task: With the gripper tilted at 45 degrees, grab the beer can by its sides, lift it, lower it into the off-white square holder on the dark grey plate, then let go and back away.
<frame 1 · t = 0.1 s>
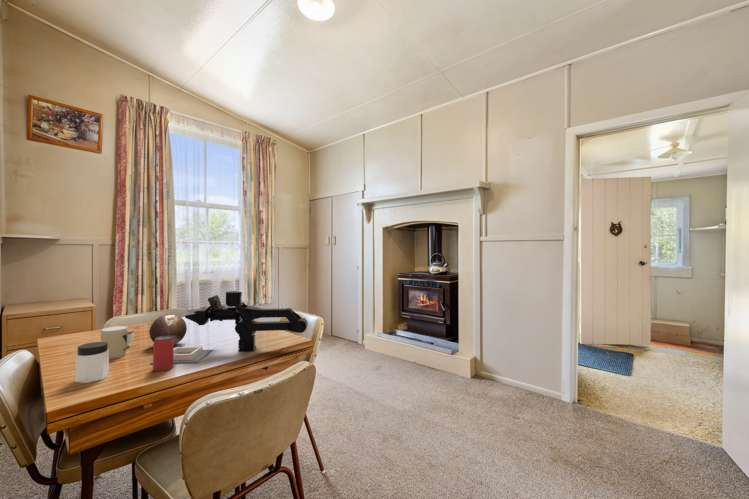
hand: (190, 314, 146), 17 cm above the table, tool horizontal, fingers open, 9 cm apart
jar: (92, 379, 114), on the table
beer can: (163, 369, 124), on the table
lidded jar: (119, 347, 150), on the table
holder plate: (183, 357, 137), on the table
coffee cup: (114, 356, 137), on the table
brown ball: (168, 346, 153), on the table
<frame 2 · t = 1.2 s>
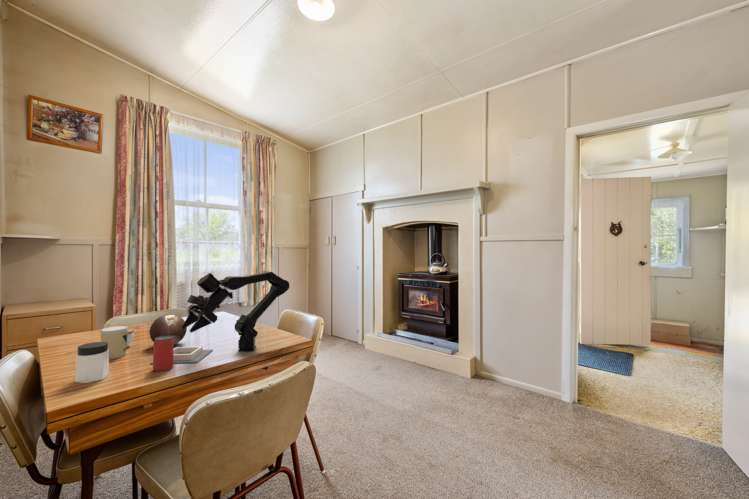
hand: (186, 329, 130), 14 cm above the table, tool tilted 45°, fingers open, 9 cm apart
nothing on the table moved.
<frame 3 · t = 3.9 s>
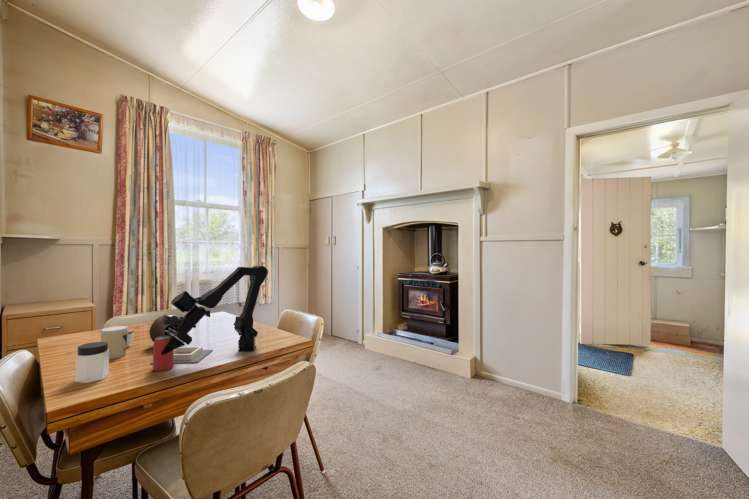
hand: (159, 352, 123), 7 cm above the table, tool tilted 45°, fingers closed on beer can, 7 cm apart
beer can: (163, 369, 124), on the table, touching gripper
everything else where it was.
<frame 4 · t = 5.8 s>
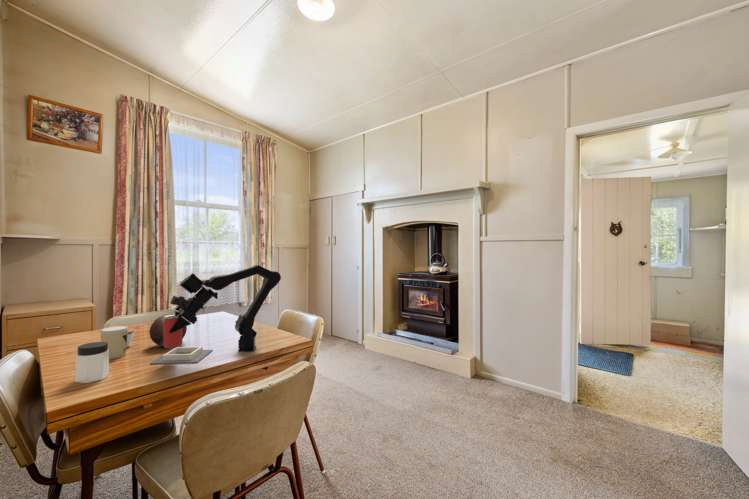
hand: (169, 330, 129), 13 cm above the table, tool tilted 45°, fingers closed on beer can, 7 cm apart
beer can: (173, 346, 130), point 6 cm above the table, touching gripper
everything else where it was.
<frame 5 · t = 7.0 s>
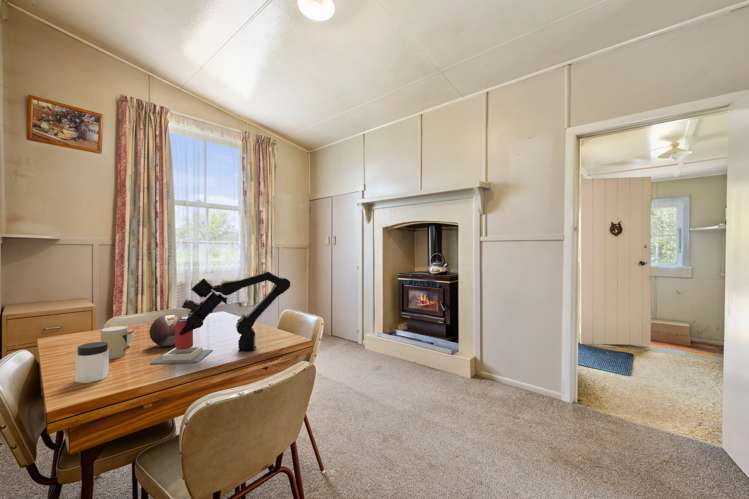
hand: (180, 332, 136), 11 cm above the table, tool tilted 45°, fingers closed on beer can, 7 cm apart
beer can: (184, 348, 137), point 4 cm above the table, touching gripper
everything else where it was.
when the fingers open (8 cm above the table, at t = 8.1 s): beer can stays where it is, resting on holder plate.
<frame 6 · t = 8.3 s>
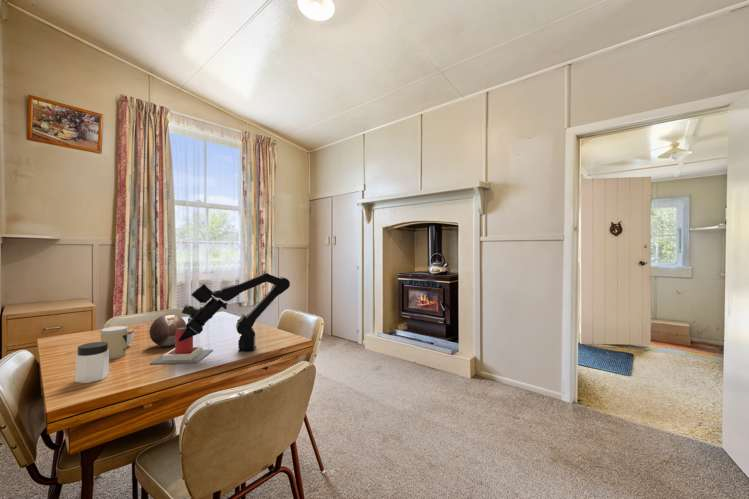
hand: (179, 338, 136), 8 cm above the table, tool tilted 45°, fingers open, 9 cm apart
beer can: (184, 356, 137), resting on holder plate
everything else where it was.
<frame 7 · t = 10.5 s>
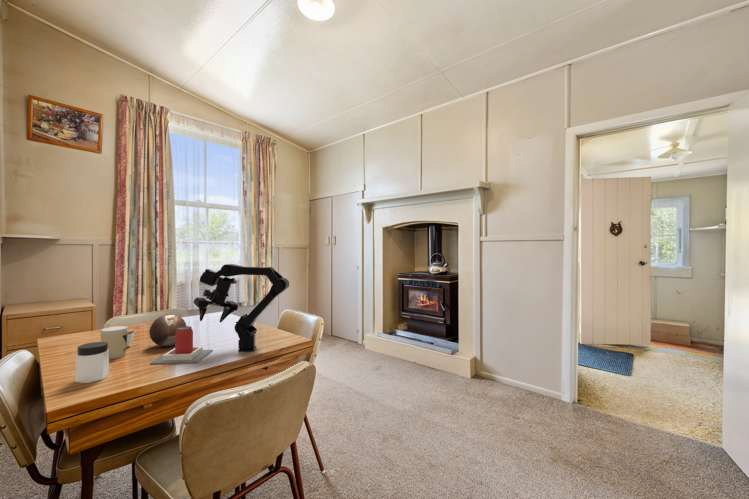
hand: (210, 321, 148), 13 cm above the table, tool tilted 20°, fingers open, 9 cm apart
nothing on the table moved.
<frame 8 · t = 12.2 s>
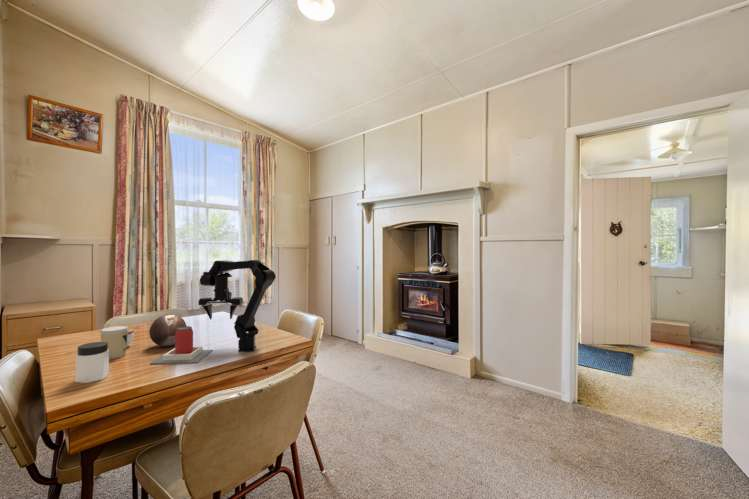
hand: (220, 319, 153), 13 cm above the table, tool pointing down, fingers open, 9 cm apart
nothing on the table moved.
at the end: beer can 0.2 cm off-centre on the holder plate, point 0.4 cm above the holder plate's base; beer can tilted 0°; the gripper is holding nothing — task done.
